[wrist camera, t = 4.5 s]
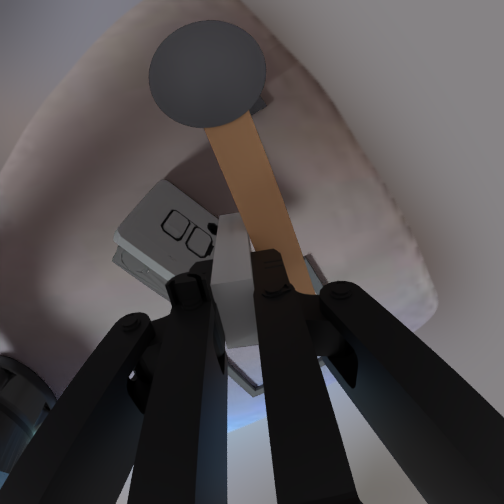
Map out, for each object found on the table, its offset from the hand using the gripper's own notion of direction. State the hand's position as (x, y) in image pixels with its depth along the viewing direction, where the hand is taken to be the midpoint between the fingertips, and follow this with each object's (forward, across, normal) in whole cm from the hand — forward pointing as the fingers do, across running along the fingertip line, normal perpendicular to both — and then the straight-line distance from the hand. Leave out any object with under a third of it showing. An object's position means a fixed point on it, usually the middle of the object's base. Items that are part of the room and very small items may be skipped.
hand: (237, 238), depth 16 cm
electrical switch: (+14, -5, -4) cm, 15 cm away
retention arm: (+1, +2, +2) cm, 2 cm away
